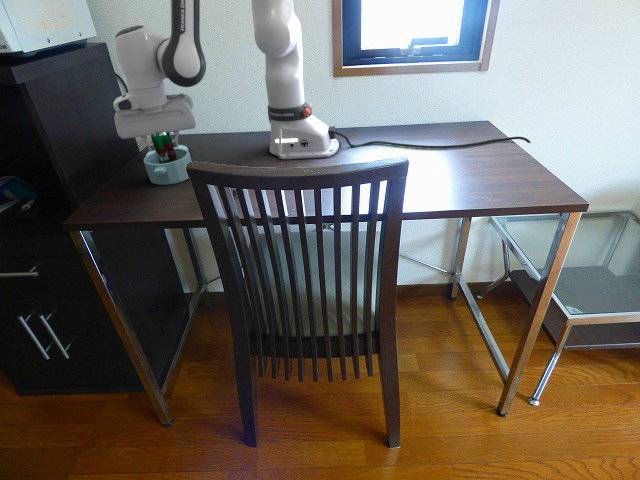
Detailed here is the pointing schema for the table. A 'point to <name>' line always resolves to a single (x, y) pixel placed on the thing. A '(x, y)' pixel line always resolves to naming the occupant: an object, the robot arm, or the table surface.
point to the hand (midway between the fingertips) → (164, 148)
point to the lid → (174, 147)
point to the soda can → (164, 147)
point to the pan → (168, 168)
